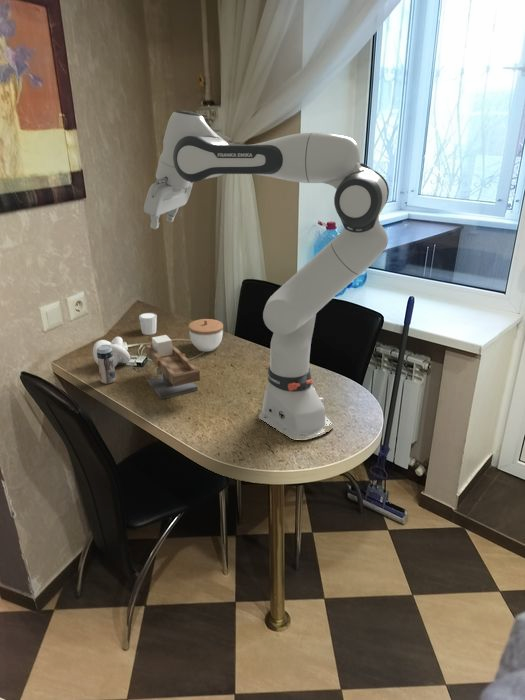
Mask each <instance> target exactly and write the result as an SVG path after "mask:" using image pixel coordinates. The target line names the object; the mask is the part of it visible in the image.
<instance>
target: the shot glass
mask: <svg viewBox="0 0 525 700" xmlns="http://www.w3.org/2000/svg"><path fill="white" fill-rule="evenodd" d="M157 317H158V315H157V314H156V313H155V312H144V313H141V314H139V315H138V320H139V324H140V328H141V334H143V335H147V336H148V335H149V336H151V335H154V334H156V333H157V325H158V323H157V319H158V318H157Z"/></svg>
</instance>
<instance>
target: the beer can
mask: <svg viewBox="0 0 525 700" xmlns="http://www.w3.org/2000/svg"><path fill="white" fill-rule="evenodd" d="M97 357H98V364H97V365H98V373H99V378H100V379H99V381H100V382H101V383H102V384H105V385H108V384H112V383H114V382H115V381H116V370H115V367H114V360H113V352H112V348H111V347H110V346H109V345H101V346H99V347H98V348H97Z"/></svg>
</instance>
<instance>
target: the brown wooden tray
mask: <svg viewBox="0 0 525 700" xmlns="http://www.w3.org/2000/svg"><path fill="white" fill-rule="evenodd" d="M144 346H145V347H144V349H145V354H146V355H147V356H148V358H149V359H150V360H151V361H152V362H153V364H154V365H155V366H156V367H157V368H156V372H157V375H161V376H155V377H153V378H148V379H147V382H148V384H149V385H150V387H151V388H152V389H153V391H154V392H155V393H156V395H157V396H158V397H159V398H160V400H164V399H168V398H172V397H176V396H180V395H184V394H188V393H191V392H196V391H198V390H199V389H198V385H196V384H195V382H199V381H201V378H200V377H201V376H200V375H201V374H200V369H198V367H196V366H195V365H194V364H193V363H192V362H191V360H189V359H188V358H187V357H186V354H185V353H183V352H181V351H180V350H179V349H178V348H177V346H175V344H173V343H172V352H173V355H168V356H163V357H160V356H159V355H158V353H157V352H156V351H155V350H154V349H153V345H152V343H151V342H150V343H147V344H145V345H144Z"/></svg>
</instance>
